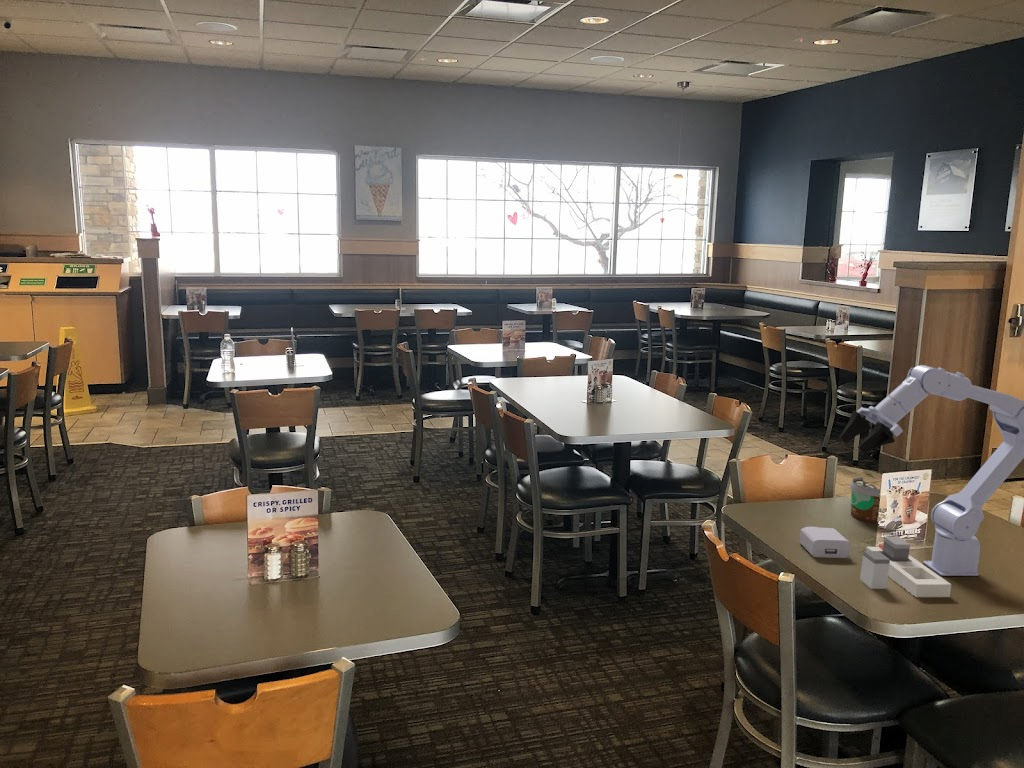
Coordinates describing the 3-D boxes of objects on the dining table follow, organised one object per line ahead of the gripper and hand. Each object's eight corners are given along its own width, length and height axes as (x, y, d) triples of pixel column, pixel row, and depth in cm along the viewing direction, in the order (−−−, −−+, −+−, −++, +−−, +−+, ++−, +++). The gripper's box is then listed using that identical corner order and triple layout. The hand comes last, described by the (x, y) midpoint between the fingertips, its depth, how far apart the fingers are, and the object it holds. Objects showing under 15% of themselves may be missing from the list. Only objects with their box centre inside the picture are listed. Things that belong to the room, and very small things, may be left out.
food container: (838, 509, 241) (841, 476, 239) (858, 509, 241) (862, 476, 240) (860, 524, 229) (864, 489, 227) (881, 524, 229) (885, 489, 228)
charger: (825, 536, 219) (848, 559, 204) (790, 535, 219) (811, 557, 204) (827, 519, 218) (851, 540, 203) (792, 518, 218) (813, 539, 203)
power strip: (896, 558, 205) (897, 543, 204) (949, 597, 184) (951, 581, 183) (865, 558, 204) (866, 543, 204) (915, 597, 183) (917, 581, 182)
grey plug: (874, 579, 192) (878, 550, 190) (886, 588, 187) (890, 559, 186) (859, 579, 191) (863, 550, 190) (871, 588, 187) (874, 559, 185)
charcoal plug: (895, 564, 201) (898, 536, 200) (906, 572, 197) (910, 544, 195) (880, 564, 201) (884, 536, 200) (892, 572, 196) (895, 544, 195)
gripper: (868, 385, 195) (825, 424, 196) (906, 402, 182) (859, 443, 182) (884, 406, 197) (841, 444, 198) (923, 424, 184) (876, 465, 184)
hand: (851, 445), depth 190 cm, fingers open, 7 cm apart
